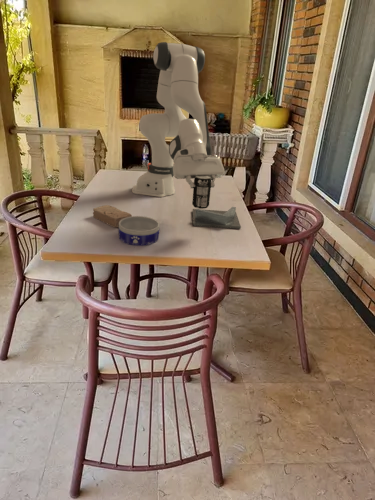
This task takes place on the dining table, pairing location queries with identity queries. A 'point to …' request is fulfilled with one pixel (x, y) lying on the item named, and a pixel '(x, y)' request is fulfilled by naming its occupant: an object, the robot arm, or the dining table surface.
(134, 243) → the dog bowl
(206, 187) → the beverage can
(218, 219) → the v block
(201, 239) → the dining table surface
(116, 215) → the brick
